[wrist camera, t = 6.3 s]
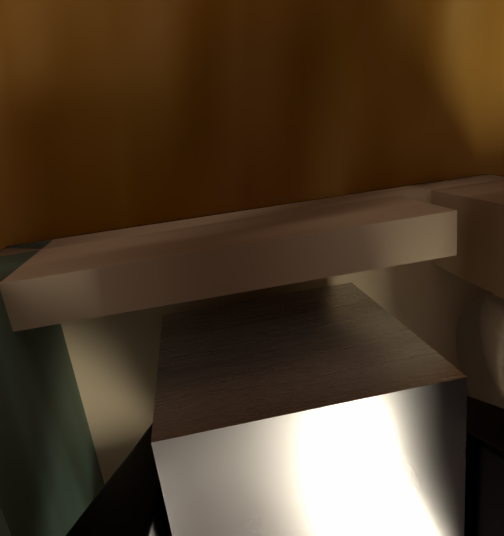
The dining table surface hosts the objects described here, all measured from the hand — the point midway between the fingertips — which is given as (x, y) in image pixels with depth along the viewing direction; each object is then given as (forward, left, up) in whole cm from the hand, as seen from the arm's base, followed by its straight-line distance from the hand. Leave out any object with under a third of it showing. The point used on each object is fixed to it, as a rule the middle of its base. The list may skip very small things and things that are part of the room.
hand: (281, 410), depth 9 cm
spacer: (0, 0, -1) cm, 1 cm away
